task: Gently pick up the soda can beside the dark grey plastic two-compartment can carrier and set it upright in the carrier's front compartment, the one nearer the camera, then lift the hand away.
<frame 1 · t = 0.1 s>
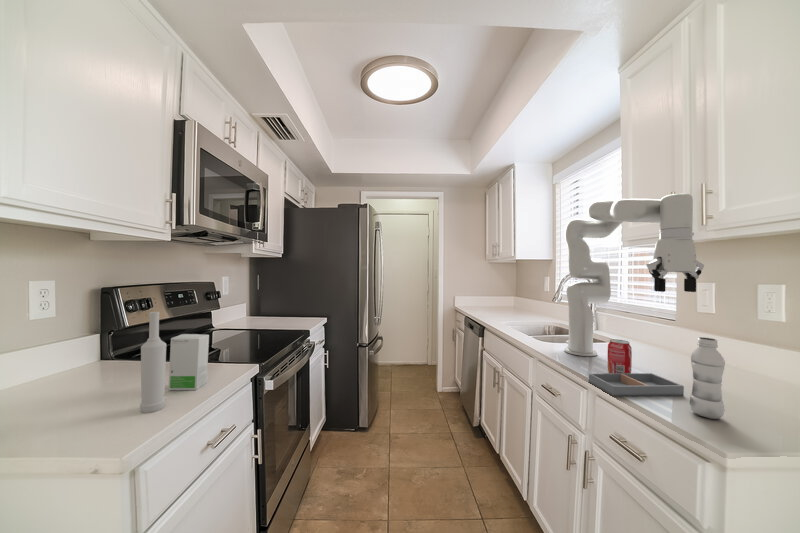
hand: (674, 291, 95), 31 cm above the counter, tool pointing down, fingers open, 9 cm apart
skincare box: (189, 387, 96), on the counter
soda can: (619, 375, 111), on the counter
can carrier: (633, 388, 98), on the counter
plastic bottle: (706, 417, 80), on the counter
bottle: (153, 409, 81), on the counter
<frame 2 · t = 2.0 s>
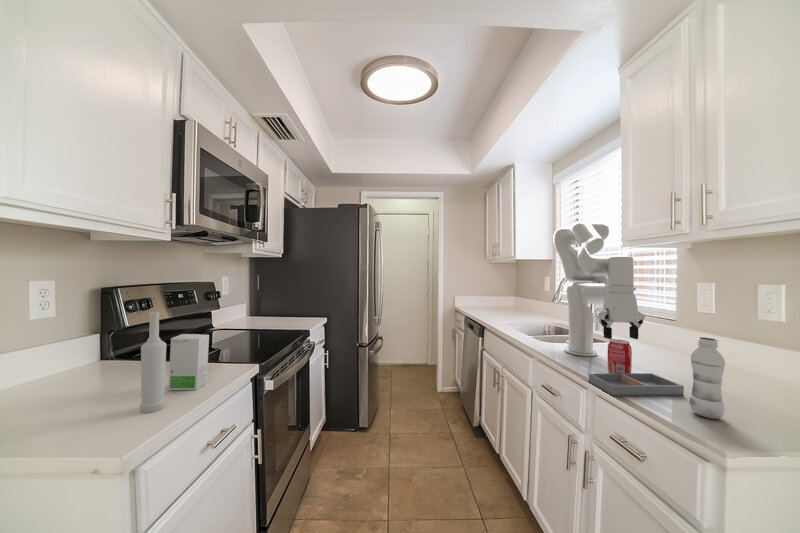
hand: (620, 338, 111), 13 cm above the counter, tool pointing down, fingers open, 9 cm apart
nothing on the counter moved.
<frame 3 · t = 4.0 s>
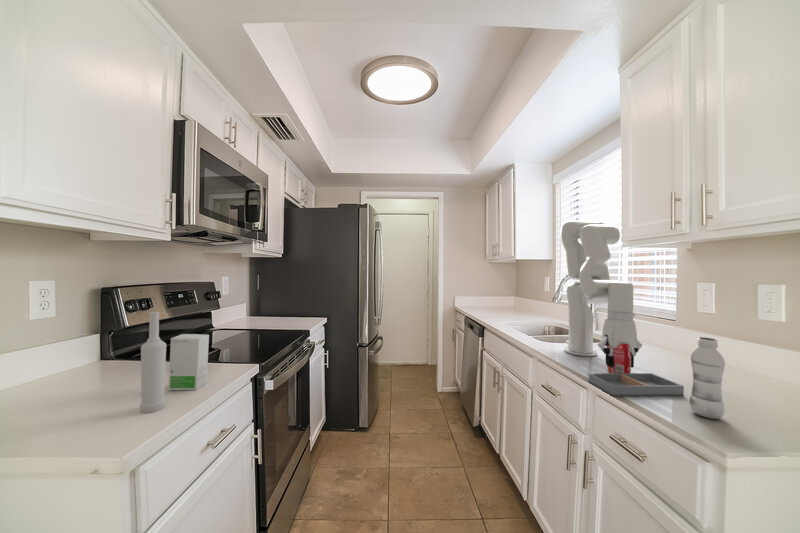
hand: (619, 365, 111), 3 cm above the counter, tool pointing down, fingers closed on soda can, 6 cm apart
soda can: (618, 375, 111), on the counter, touching gripper
everything else where it was.
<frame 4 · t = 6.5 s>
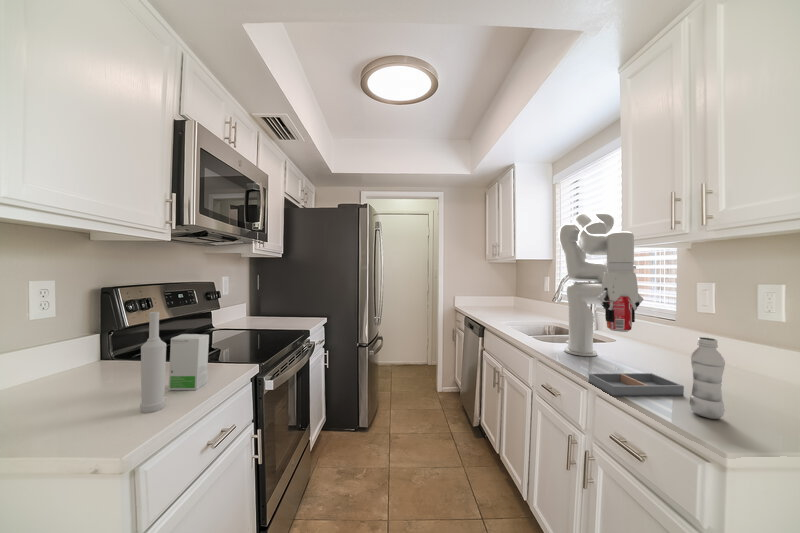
hand: (619, 321, 105), 20 cm above the counter, tool pointing down, fingers closed on soda can, 6 cm apart
soda can: (619, 331, 105), point 17 cm above the counter, touching gripper
everything else where it was.
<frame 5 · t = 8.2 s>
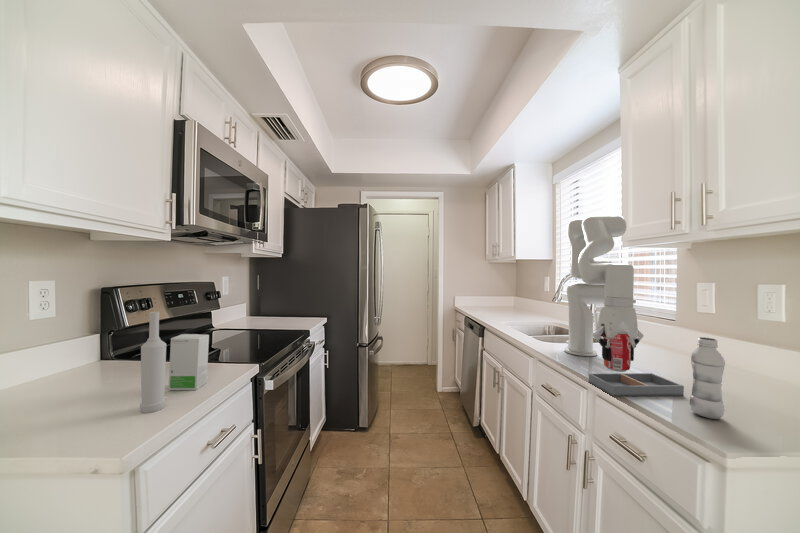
hand: (617, 359, 98), 9 cm above the counter, tool pointing down, fingers closed on soda can, 6 cm apart
soda can: (616, 369, 98), point 6 cm above the counter, touching gripper
everything else where it was.
when the fingers open (5 cm above the counter, at t = 9.6 s): soda can drops 1 cm, resting on can carrier.
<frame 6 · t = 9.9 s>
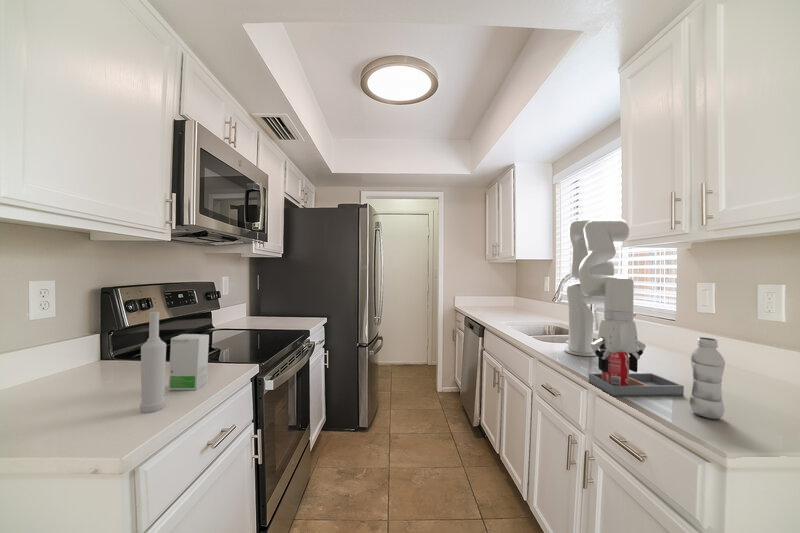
hand: (617, 370, 98), 6 cm above the counter, tool pointing down, fingers open, 9 cm apart
soda can: (615, 387, 98), resting on can carrier
everything else where it was.
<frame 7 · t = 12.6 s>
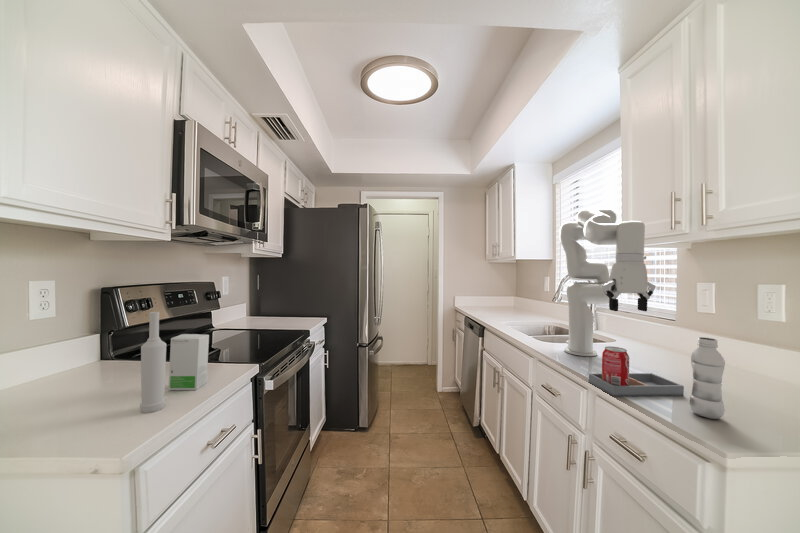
hand: (627, 310, 103), 24 cm above the counter, tool pointing down, fingers open, 9 cm apart
nothing on the counter moved.
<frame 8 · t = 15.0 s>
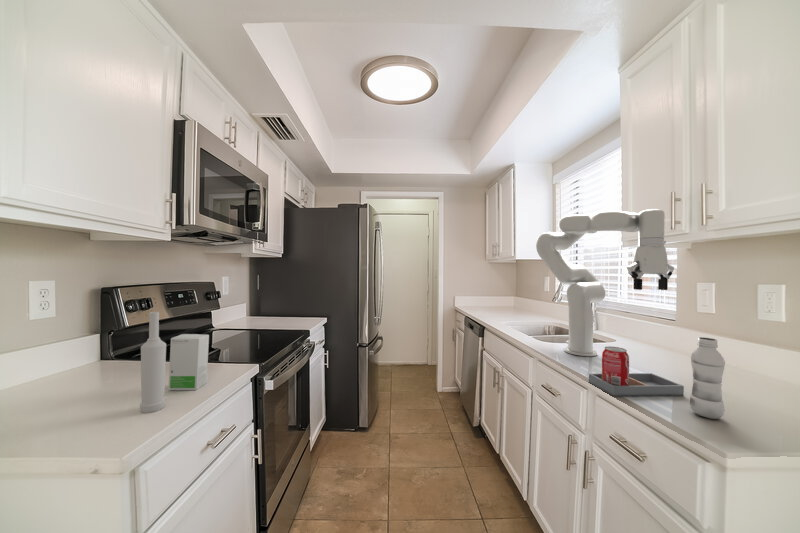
hand: (650, 289, 115), 30 cm above the counter, tool pointing down, fingers open, 9 cm apart
nothing on the counter moved.
at the end: soda can 0.7 cm from the target spot on the can carrier, point 0.4 cm above the can carrier's base; soda can tilted 0°; the gripper is holding nothing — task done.
